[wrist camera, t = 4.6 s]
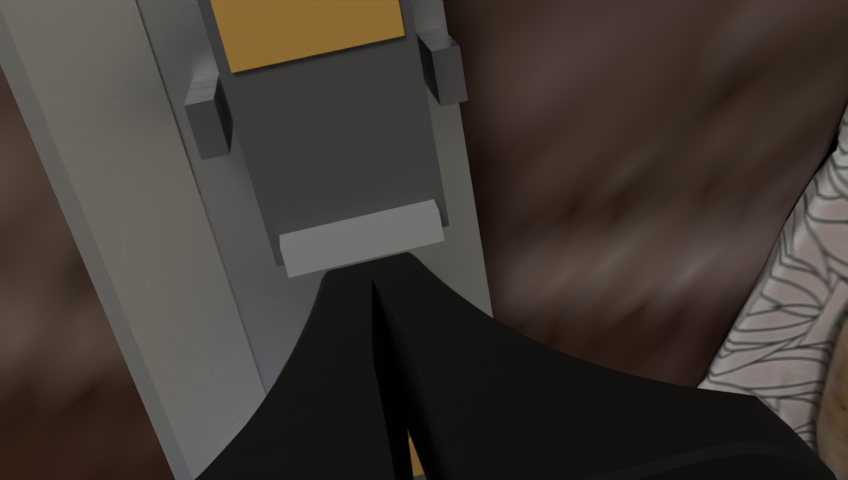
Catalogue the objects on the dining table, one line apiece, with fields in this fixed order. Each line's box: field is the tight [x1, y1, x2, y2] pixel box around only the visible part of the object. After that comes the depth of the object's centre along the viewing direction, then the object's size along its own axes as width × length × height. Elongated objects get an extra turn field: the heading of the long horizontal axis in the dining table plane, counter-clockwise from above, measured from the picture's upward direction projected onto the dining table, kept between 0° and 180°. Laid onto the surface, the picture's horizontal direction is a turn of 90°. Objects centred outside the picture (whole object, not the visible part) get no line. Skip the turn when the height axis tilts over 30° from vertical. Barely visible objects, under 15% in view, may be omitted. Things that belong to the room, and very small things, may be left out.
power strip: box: [0, 0, 493, 480], centre depth 16 cm, size 26×8×5 cm, turn 10°
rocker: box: [197, 0, 450, 278], centre depth 14 cm, size 5×3×2 cm, turn 11°
